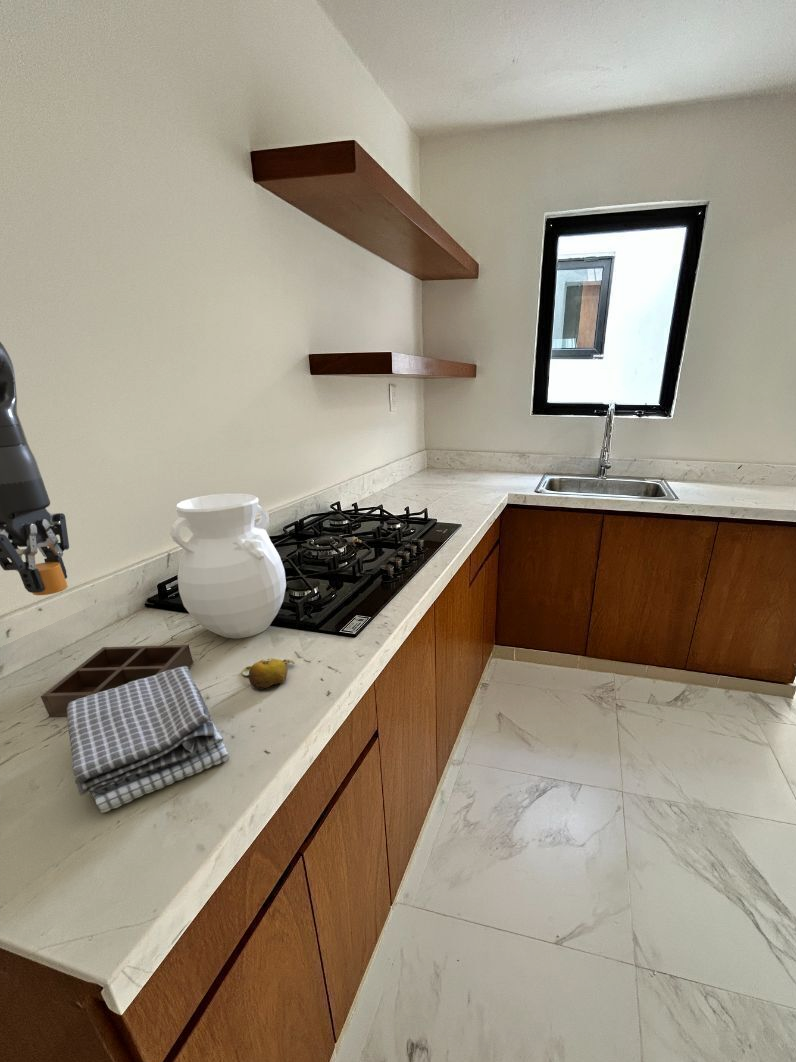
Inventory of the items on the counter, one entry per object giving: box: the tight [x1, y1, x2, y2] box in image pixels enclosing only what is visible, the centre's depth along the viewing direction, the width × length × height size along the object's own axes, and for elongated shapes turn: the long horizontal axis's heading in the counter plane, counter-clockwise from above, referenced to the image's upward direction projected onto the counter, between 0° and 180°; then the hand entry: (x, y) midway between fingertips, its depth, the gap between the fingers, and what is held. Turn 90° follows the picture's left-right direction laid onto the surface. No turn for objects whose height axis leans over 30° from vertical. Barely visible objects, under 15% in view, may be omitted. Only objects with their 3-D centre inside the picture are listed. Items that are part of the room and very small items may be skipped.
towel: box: [66, 666, 230, 814], centre depth 63 cm, size 15×18×8 cm
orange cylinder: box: [32, 561, 68, 596], centre depth 80 cm, size 5×5×4 cm
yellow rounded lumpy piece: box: [241, 658, 295, 691], centre depth 80 cm, size 8×8×4 cm
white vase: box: [170, 492, 287, 640], centre depth 93 cm, size 19×18×25 cm
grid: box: [40, 644, 194, 718], centre depth 78 cm, size 14×14×4 cm
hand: (48, 585), depth 80 cm, fingers closed on orange cylinder, 4 cm apart
